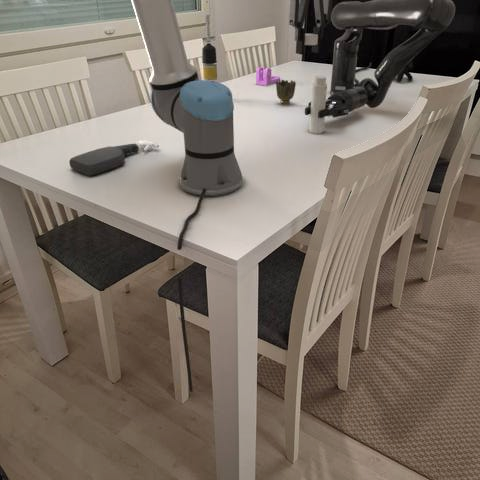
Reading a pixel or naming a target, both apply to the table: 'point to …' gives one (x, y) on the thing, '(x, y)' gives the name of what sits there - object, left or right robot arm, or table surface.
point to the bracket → (265, 77)
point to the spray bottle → (106, 157)
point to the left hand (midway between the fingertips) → (307, 52)
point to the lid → (311, 39)
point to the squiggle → (405, 72)
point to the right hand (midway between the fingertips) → (312, 113)
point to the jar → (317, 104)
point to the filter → (209, 57)
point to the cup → (285, 91)
